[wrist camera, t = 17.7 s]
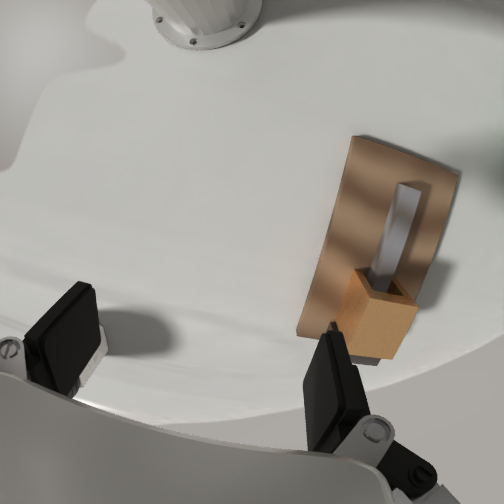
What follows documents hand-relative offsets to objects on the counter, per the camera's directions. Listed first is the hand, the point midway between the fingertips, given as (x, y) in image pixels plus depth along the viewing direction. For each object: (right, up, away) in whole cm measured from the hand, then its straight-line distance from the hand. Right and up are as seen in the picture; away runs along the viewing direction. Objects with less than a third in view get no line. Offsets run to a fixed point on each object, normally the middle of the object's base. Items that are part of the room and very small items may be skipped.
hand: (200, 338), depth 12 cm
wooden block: (+16, -2, +24) cm, 29 cm away
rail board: (+17, +3, +24) cm, 29 cm away
